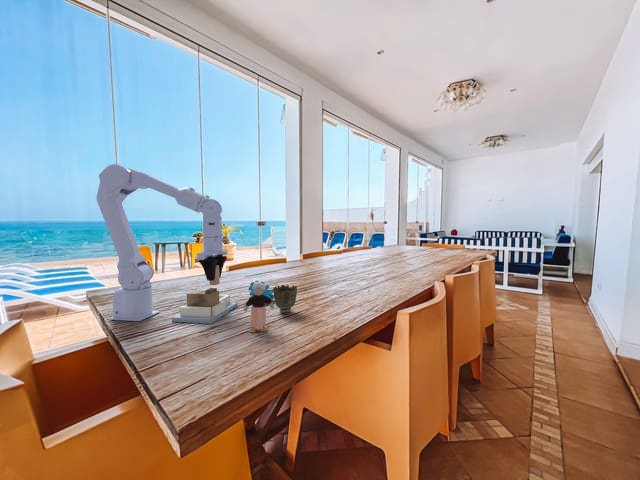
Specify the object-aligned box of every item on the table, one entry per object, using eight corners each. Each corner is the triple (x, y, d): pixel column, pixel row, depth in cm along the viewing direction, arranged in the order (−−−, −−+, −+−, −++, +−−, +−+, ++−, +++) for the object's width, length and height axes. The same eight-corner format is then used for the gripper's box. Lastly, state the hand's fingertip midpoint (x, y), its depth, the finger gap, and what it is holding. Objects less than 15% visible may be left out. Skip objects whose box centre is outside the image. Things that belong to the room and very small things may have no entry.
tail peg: (207, 284, 82) (207, 266, 82) (213, 282, 85) (212, 264, 85) (216, 285, 82) (215, 266, 81) (221, 283, 85) (220, 265, 84)
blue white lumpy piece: (257, 304, 84) (246, 279, 89) (248, 314, 87) (237, 290, 91) (281, 301, 93) (270, 278, 98) (273, 310, 95) (262, 288, 100)
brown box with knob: (187, 313, 76) (186, 290, 76) (195, 309, 80) (194, 287, 80) (212, 314, 75) (211, 291, 75) (219, 310, 79) (219, 287, 79)
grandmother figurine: (246, 335, 64) (245, 284, 63) (243, 330, 67) (242, 281, 66) (276, 329, 67) (275, 281, 67) (271, 324, 71) (271, 278, 70)
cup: (268, 314, 79) (268, 288, 78) (281, 307, 85) (280, 283, 85) (290, 318, 76) (289, 291, 75) (301, 310, 83) (301, 285, 82)
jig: (171, 321, 73) (171, 308, 73) (204, 304, 89) (204, 294, 89) (211, 323, 72) (210, 310, 72) (237, 306, 88) (237, 295, 87)
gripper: (211, 238, 75) (212, 284, 76) (235, 236, 89) (236, 275, 90) (189, 238, 76) (190, 283, 77) (216, 236, 90) (217, 274, 91)
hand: (213, 279), depth 83 cm, fingers closed on tail peg, 3 cm apart
